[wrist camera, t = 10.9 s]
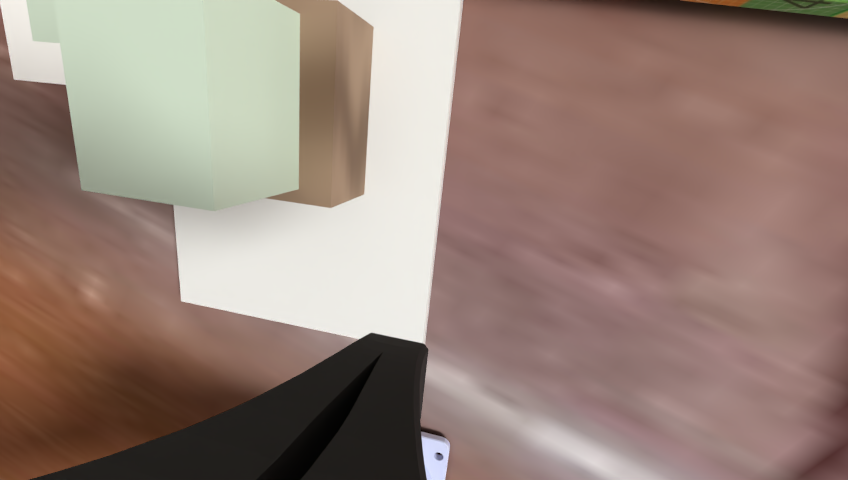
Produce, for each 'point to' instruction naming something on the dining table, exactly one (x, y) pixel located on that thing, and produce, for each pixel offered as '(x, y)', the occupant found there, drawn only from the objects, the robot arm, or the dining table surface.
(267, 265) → the plate
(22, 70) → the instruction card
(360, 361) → the robot arm
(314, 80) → the walnut brick
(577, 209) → the dining table surface
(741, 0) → the puzzle game
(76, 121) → the sage brick
